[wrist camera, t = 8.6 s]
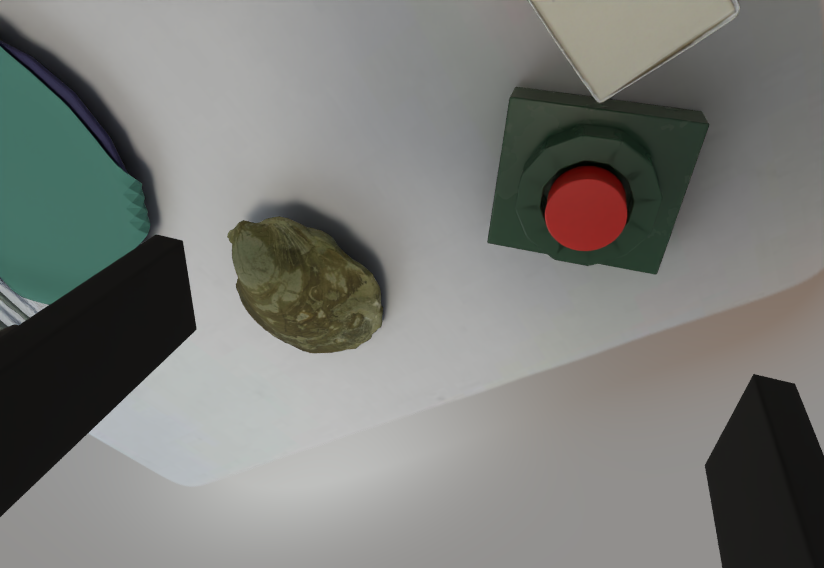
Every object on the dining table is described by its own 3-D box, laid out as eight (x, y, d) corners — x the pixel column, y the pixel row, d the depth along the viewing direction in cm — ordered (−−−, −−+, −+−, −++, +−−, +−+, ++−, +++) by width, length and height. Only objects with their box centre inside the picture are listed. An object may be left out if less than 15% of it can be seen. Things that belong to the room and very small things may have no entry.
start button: (635, 172, 26) (637, 186, 25) (615, 241, 28) (615, 257, 27) (555, 159, 27) (553, 172, 25) (541, 228, 29) (538, 243, 27)
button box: (702, 110, 27) (716, 136, 24) (653, 255, 32) (659, 293, 29) (515, 85, 29) (504, 106, 26) (493, 226, 34) (481, 259, 30)
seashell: (310, 381, 42) (196, 370, 34) (283, 297, 45) (173, 268, 37) (419, 309, 38) (322, 276, 30) (381, 223, 41) (283, 173, 33)
